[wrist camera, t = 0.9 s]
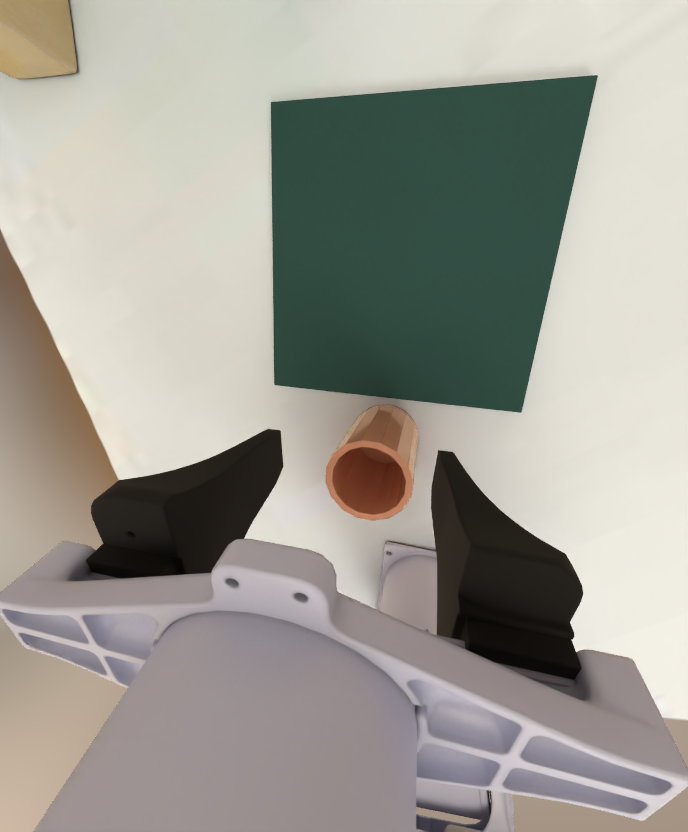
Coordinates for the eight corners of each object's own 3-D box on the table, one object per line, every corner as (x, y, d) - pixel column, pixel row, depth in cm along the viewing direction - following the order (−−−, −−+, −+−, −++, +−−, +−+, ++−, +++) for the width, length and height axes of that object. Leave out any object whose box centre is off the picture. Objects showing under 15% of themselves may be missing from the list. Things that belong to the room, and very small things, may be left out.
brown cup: (413, 469, 29) (407, 527, 21) (352, 459, 30) (324, 511, 23) (421, 408, 28) (417, 447, 20) (356, 400, 29) (327, 435, 21)
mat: (519, 410, 26) (521, 412, 25) (277, 383, 30) (274, 385, 29) (593, 81, 19) (598, 74, 19) (274, 106, 24) (270, 101, 23)
